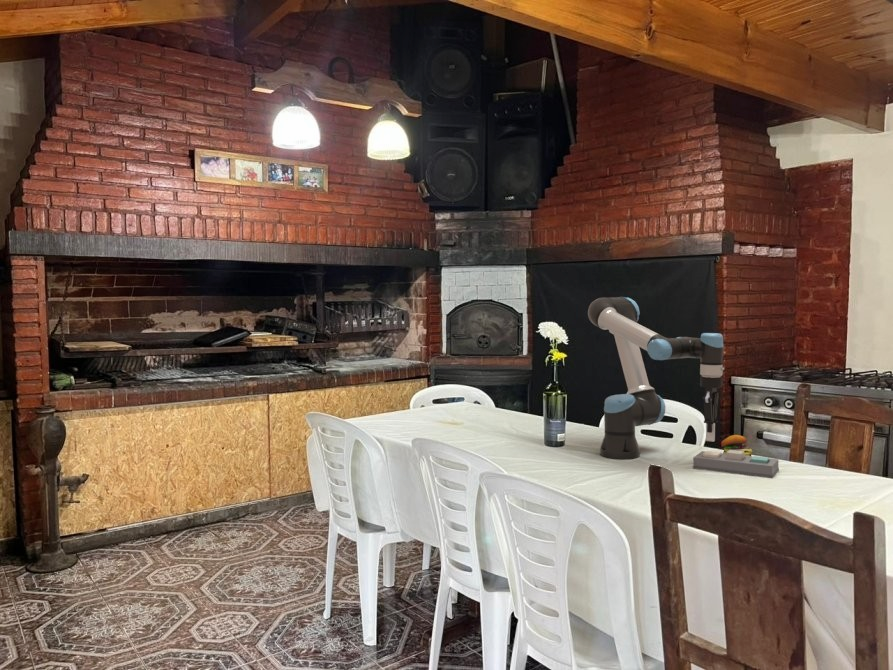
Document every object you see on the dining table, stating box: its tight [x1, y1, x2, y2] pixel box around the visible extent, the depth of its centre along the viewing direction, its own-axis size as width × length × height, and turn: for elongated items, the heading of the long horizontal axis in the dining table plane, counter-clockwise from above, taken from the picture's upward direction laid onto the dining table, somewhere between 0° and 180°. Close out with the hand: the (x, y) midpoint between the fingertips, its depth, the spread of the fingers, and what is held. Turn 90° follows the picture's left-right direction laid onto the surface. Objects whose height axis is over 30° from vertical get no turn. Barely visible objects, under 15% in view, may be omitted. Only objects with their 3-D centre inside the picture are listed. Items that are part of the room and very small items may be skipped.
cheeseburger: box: [720, 434, 753, 456], centre depth 251 cm, size 10×11×10 cm
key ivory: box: [703, 450, 722, 458], centre depth 239 cm, size 5×5×4 cm
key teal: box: [751, 455, 770, 464], centre depth 230 cm, size 5×5×4 cm
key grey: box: [726, 450, 744, 461], centre depth 234 cm, size 5×5×4 cm
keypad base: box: [692, 450, 780, 479], centre depth 234 cm, size 26×12×4 cm, turn 54°
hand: (710, 440), depth 239 cm, fingers closed
